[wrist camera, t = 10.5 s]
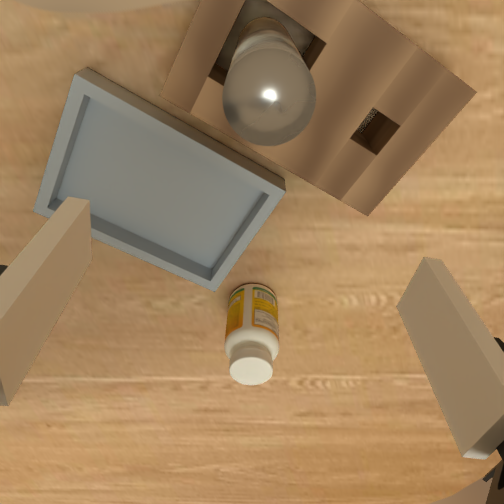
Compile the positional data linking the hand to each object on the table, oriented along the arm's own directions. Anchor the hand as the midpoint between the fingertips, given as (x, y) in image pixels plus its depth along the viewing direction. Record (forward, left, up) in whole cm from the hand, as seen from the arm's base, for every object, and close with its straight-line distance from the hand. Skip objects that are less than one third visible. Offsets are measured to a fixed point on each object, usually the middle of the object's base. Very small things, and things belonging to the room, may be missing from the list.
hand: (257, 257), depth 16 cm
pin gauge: (-2, +4, -20) cm, 20 cm away
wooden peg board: (+2, +4, -20) cm, 20 cm away
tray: (-4, -10, -20) cm, 23 cm away
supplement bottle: (+10, -18, -20) cm, 29 cm away
